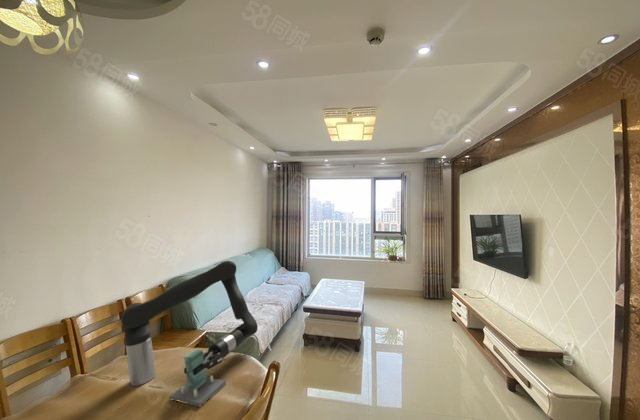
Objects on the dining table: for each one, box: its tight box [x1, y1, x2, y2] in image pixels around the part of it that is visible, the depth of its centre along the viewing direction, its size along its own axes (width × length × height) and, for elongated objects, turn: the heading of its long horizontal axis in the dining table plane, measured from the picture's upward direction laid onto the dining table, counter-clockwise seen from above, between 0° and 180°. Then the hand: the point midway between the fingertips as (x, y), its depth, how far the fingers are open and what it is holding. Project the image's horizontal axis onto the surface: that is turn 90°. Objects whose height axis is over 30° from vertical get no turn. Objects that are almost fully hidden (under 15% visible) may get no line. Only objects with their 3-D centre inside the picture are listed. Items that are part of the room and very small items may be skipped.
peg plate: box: [169, 375, 227, 407], centre depth 98 cm, size 16×12×4 cm
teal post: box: [183, 349, 207, 389], centre depth 98 cm, size 4×5×12 cm
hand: (189, 372), depth 95 cm, fingers closed on teal post, 4 cm apart
